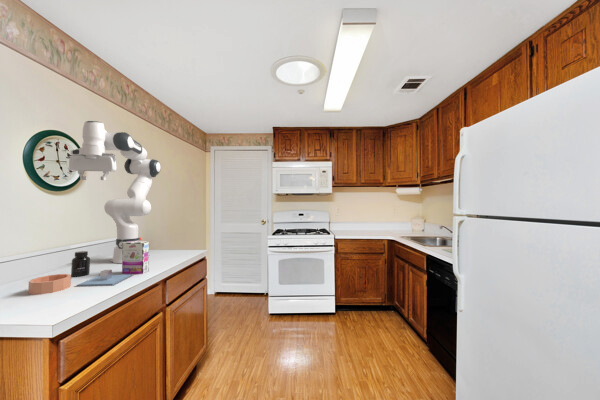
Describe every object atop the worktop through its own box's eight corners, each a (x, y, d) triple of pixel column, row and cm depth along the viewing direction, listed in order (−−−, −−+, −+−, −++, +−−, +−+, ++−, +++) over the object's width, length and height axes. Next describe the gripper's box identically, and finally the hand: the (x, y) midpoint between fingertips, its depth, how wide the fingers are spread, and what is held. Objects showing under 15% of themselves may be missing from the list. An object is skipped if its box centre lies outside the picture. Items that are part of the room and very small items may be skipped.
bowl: (47, 285, 107) (48, 274, 107) (77, 284, 108) (78, 273, 108) (19, 296, 95) (19, 283, 95) (53, 295, 96) (54, 282, 96)
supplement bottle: (78, 278, 117) (79, 253, 117) (67, 277, 118) (67, 252, 118) (93, 274, 124) (93, 250, 124) (82, 273, 125) (83, 250, 125)
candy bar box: (149, 272, 129) (149, 241, 129) (142, 274, 124) (143, 242, 124) (128, 271, 129) (129, 240, 129) (121, 274, 124) (122, 242, 124)
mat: (99, 276, 120) (99, 275, 120) (134, 276, 122) (134, 275, 122) (73, 288, 104) (73, 286, 104) (113, 286, 106) (113, 285, 106)
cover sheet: (100, 276, 119) (100, 266, 119) (130, 275, 121) (131, 266, 121) (77, 286, 105) (77, 275, 105) (112, 285, 107) (112, 274, 107)
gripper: (119, 154, 128) (119, 180, 128) (77, 153, 126) (76, 180, 125) (111, 152, 122) (111, 179, 121) (66, 150, 119) (66, 179, 119)
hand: (93, 180), depth 123 cm, fingers open, 8 cm apart
